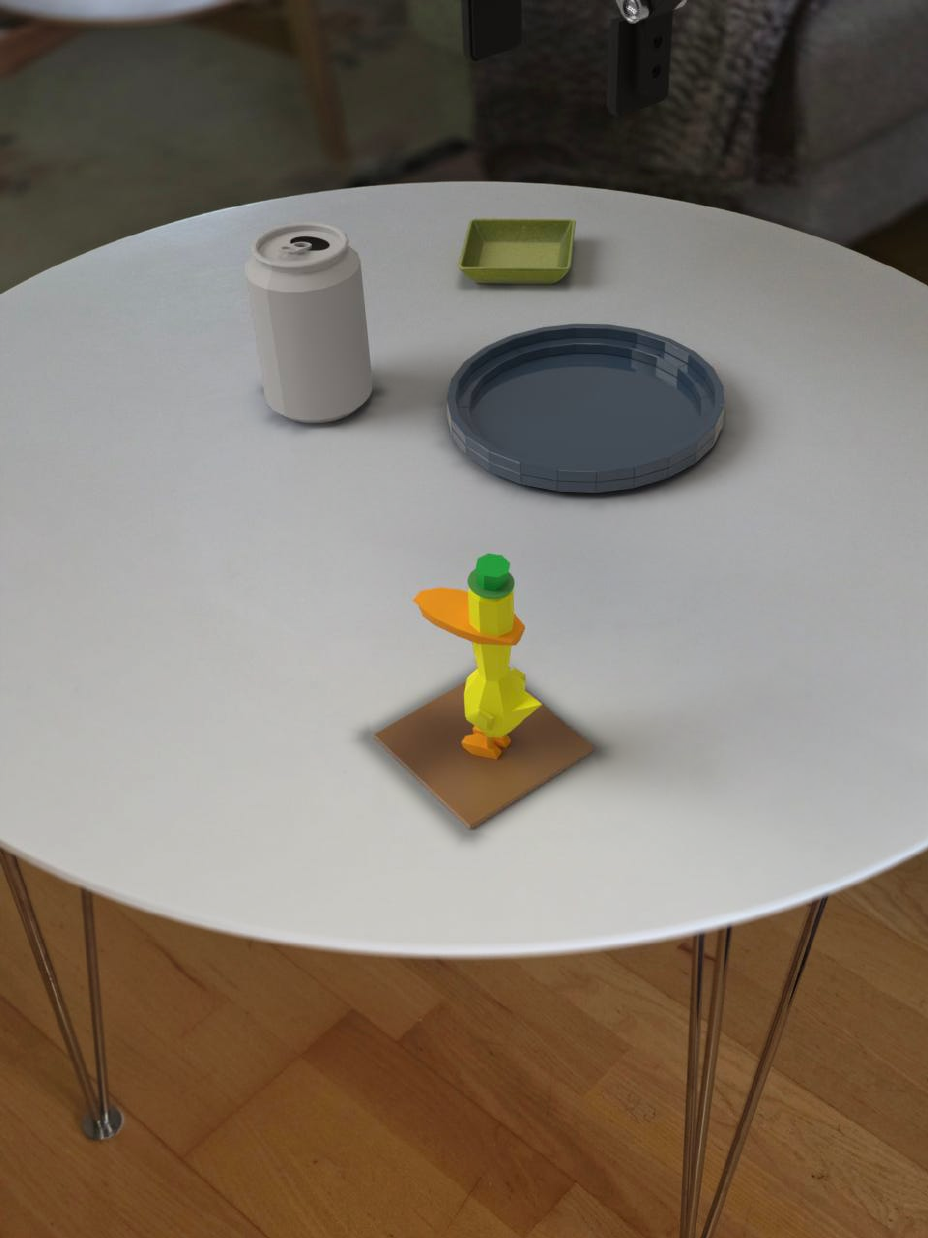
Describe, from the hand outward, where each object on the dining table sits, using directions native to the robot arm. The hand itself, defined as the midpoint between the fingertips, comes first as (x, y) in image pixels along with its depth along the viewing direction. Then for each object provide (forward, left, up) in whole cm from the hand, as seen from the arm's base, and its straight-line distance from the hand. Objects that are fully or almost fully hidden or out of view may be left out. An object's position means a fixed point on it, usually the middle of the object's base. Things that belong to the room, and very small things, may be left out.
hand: (562, 78), depth 63 cm
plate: (+10, -11, -28) cm, 31 cm away
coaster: (-9, +13, -28) cm, 32 cm away
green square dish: (+30, -22, -28) cm, 46 cm away
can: (+24, +1, -28) cm, 37 cm away
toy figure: (-9, +13, -28) cm, 32 cm away
